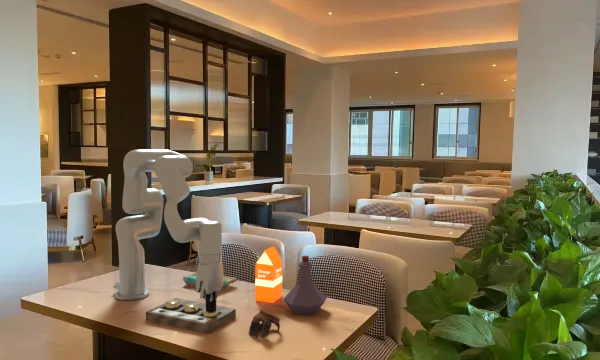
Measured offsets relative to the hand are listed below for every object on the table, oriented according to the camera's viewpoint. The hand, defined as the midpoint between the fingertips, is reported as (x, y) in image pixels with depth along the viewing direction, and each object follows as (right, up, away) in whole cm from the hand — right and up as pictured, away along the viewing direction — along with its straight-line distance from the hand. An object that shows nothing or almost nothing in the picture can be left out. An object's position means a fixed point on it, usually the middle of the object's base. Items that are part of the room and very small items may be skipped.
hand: (211, 311), depth 159 cm
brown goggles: (+19, -5, -8) cm, 21 cm away
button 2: (0, -2, 0) cm, 2 cm away
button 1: (-15, -1, +7) cm, 16 cm away
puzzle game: (-8, -1, +41) cm, 42 cm away
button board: (-8, -4, +4) cm, 9 cm away
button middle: (-8, -1, +3) cm, 8 cm away
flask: (+32, -4, +14) cm, 35 cm away
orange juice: (+18, -2, +26) cm, 32 cm away
